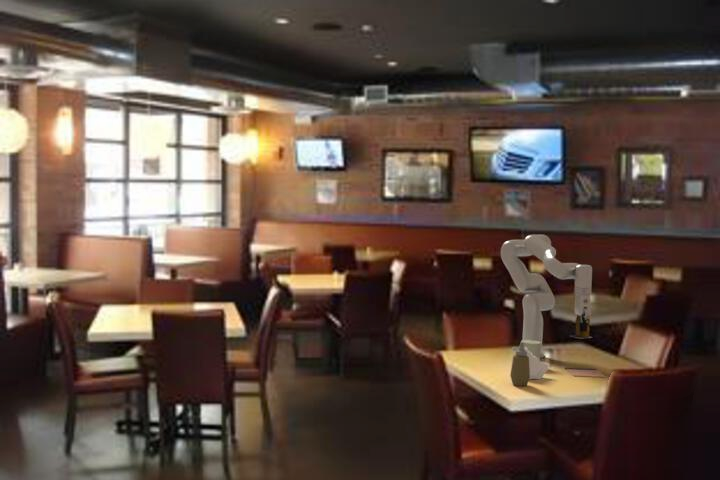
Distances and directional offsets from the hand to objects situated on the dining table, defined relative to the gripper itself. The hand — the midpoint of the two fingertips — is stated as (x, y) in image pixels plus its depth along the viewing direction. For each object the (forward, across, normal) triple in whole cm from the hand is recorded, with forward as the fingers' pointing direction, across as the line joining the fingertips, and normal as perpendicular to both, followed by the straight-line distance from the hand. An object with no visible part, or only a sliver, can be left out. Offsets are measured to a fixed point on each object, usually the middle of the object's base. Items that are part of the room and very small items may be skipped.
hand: (581, 329), depth 362 cm
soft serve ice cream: (+18, -23, +30) cm, 42 cm away
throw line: (+18, -4, 0) cm, 18 cm away
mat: (+18, -12, +1) cm, 22 cm away
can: (+18, -1, +23) cm, 29 cm away
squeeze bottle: (+18, -38, +36) cm, 55 cm away
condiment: (+4, 0, 0) cm, 4 cm away
